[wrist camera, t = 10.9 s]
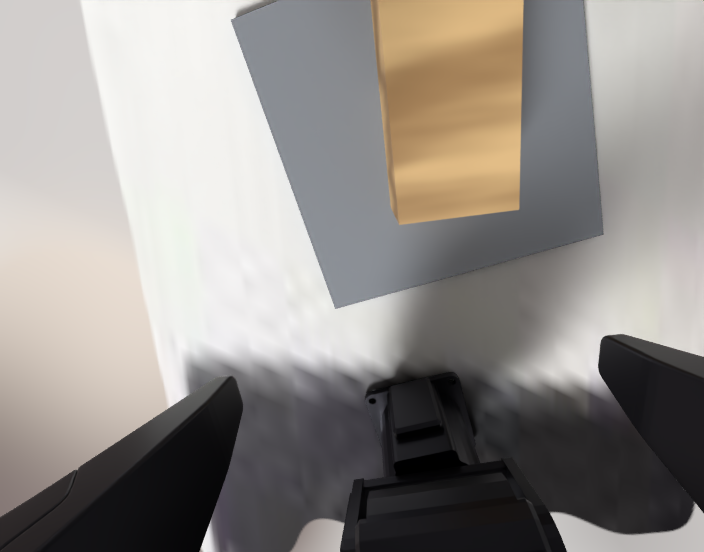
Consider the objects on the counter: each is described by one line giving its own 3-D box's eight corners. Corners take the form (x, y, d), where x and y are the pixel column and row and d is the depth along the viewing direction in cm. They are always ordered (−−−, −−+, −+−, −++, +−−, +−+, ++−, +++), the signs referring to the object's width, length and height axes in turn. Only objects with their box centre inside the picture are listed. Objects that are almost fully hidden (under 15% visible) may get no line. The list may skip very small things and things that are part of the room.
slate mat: (597, 232, 20) (603, 234, 20) (335, 305, 22) (335, 308, 22) (566, -111, 15) (572, -119, 15) (234, 23, 17) (230, 19, 17)
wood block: (519, 209, 15) (528, -228, 10) (399, 224, 15) (360, -192, 11) (481, 195, 19) (477, -110, 15) (390, 207, 20) (361, -87, 15)
